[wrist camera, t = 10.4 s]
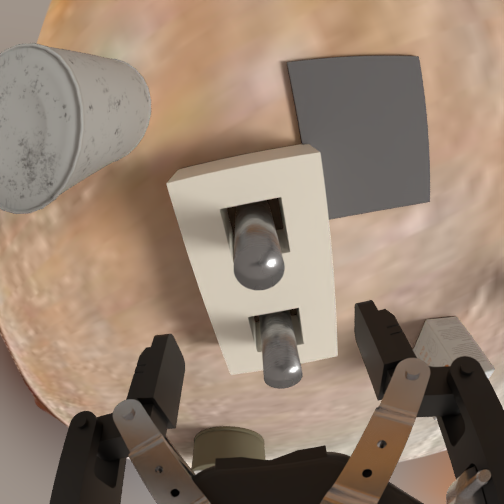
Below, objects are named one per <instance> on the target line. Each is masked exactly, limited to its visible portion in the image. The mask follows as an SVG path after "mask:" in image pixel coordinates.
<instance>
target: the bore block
mask: <svg viewBox="0 0 504 504" xmlns="http://www.w3.org/2000/svg"><path fill="white" fill-rule="evenodd" d="M166 184H167V188H168V191H169V195H170V198H171V201H172V205H173V208H174V211H175V215H176V218H177V221H178V225H179V228H180V231H181V234H182V237H183V241H184V244H185V247H186V250H187V253H188V256H189V259H190V262H191V265H192V268H193V271H194V274H195V277H196V280H197V283H198V286H199V289H200V292H201V295H202V298H203V301H204V304H205V307H206V309H207V312H208V315H209V318H210V321H211V323H212V326H213V329H214V332H215V334H216V337H217V340H218V343H219V345H220V348H221V351H222V353H223V356H224V359H225V361H226V364H227V366H228V369H229V372H230V374H231V375H234V374H241V373H248V372H255V371H262V370H263V360H262V347H261V334H260V322H255V319H254V316H256V315H262V314H268V313H273V312H279V311H284V310H289V309H295V308H296V310H297V315H294V316H291V319H292V324H293V329H294V334H295V339H296V344H297V349H298V354H299V359H300V364H302V363H307V362H312V361H317V360H322V359H326V358H331V357H336V356H338V349H337V322H336V302H335V286H334V272H333V259H332V248H331V237H330V227H329V217H328V208H327V199H326V191H325V183H324V175H323V167H322V160H321V153H320V152H319V151H318V150H317V149H315V148H314V147H312V146H311V145H310V144H304V145H302V144H299V145H293V146H287V147H281V148H276V149H270V150H265V151H259V152H254V153H249V154H244V155H239V156H234V157H230V158H225V159H221V160H216V161H212V162H207V163H203V164H199V165H194V166H190V167H186V168H182V169H178V170H177V171H176V173H175V174H174V175H173V176H172V177H171V178H170V180H169V181H168V182H167V183H166ZM273 198H278V200H279V206H280V211H281V217H282V223H283V229H280V230H276V233H277V237H278V241H279V245H280V249H281V253H282V257H283V261H284V265H285V270H284V274H283V277H282V278H281V280H280V281H279V282H278V283H277V284H276V285H275V286H273V287H271V288H269V289H266V290H251V289H248V288H246V287H244V286H242V285H241V284H240V283H239V282H238V281H237V279H236V277H235V275H234V243H235V238H234V235H233V231H232V227H231V223H230V219H229V215H228V211H227V208H228V207H232V206H237V205H242V204H247V203H252V202H257V201H263V200H268V199H273Z"/></svg>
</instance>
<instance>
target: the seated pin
mask: <svg viewBox="0 0 504 504" xmlns="http://www.w3.org/2000/svg"><path fill="white" fill-rule="evenodd" d="M259 321H260V334H261V347H262V360H263V373H264V381H265V383H266V384H267V385H269V386H271V387H273V388H288V387H291V386H294V385H295V384H297V383H298V382H299V381H300V380H301V378H302V369H301V364H300V359H299V354H298V349H297V344H296V339H295V334H294V329H293V324H292V319H291V314H290V309H289V310H284V311H279V312H273V313H268V314H262V315H259Z"/></svg>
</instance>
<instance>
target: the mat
mask: <svg viewBox="0 0 504 504" xmlns="http://www.w3.org/2000/svg"><path fill="white" fill-rule="evenodd" d="M287 67H288V72H289V77H290V82H291V87H292V92H293V97H294V103H295V108H296V113H297V119H298V125H299V130H300V136H301V142H302V145H304V144H310V145H311V146H312V147H314V148H315V149H317V150H318V151H319V152H320V153H321V160H322V167H323V175H324V183H325V191H326V199H327V208H328V217H329V220H330V219H335V218H341V217H346V216H352V215H357V214H363V213H369V212H374V211H380V210H386V209H391V208H397V207H403V206H409V205H414V204H420V203H426V202H430V160H429V139H428V125H427V114H426V104H425V95H424V87H423V80H422V73H421V67H420V61H419V57H418V56H352V57H335V58H322V59H311V60H302V61H294V62H287Z"/></svg>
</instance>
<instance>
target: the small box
mask: <svg viewBox="0 0 504 504" xmlns="http://www.w3.org/2000/svg"><path fill="white" fill-rule="evenodd" d="M413 351H414V353H415V355H416V357H417V358H418V359H421V360H423V361H424V362H426V363H427V364H428V366H432V367H444V366H451V364H452V362H453V361H454V360H455V359H456V358H459V357H462V356H468V357H472V358H474V359H476V360H477V361H478V362H479V363H480V365H481V366H482V368H483V370H484V372H485V374H486V376H487V378H488V379H489V378H490V376H491V375H492V373H493V372H494V370H495V369H494V367H493V365H492V364H491V363H490V361H489V360H488V358H487V357H486V355H485V354H484V353H483V351H482V350H481V348H480V347H479V345H478V344H477V343H476V341H475V340H474V339H473V337H472V336H471V335H470V333H469V332H468V331H467V329H466V328H465V327H464V325H463V324H462V323H461V321H460V320H459V319H458V317H456V316H455V317H447V318H437V319H427V320H426V321H425V323H424V326H423V328H422V331H421V333H420V335H419V338H418V340H417V342H416V345H415V347H414V349H413ZM433 418H434V420H436V419H437V418H436V416H433Z"/></svg>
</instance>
